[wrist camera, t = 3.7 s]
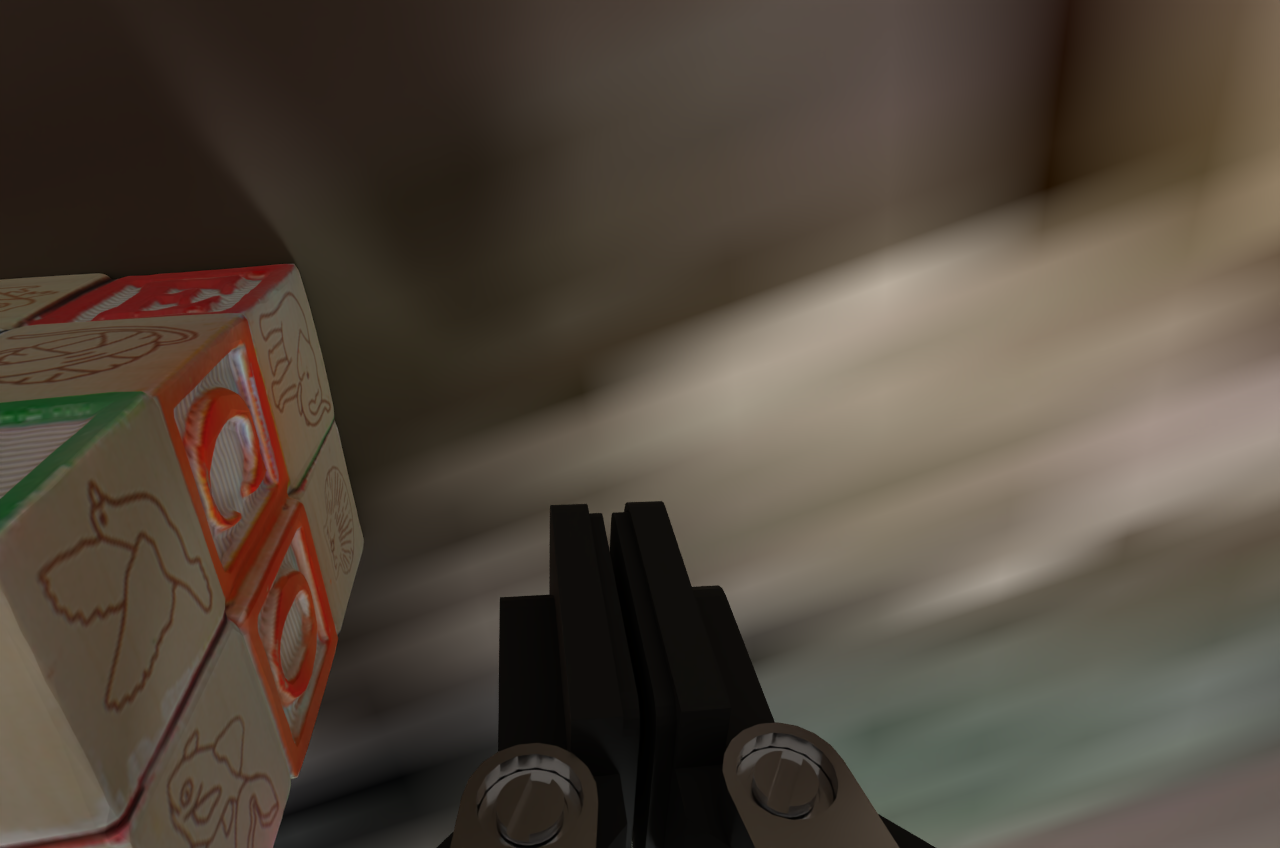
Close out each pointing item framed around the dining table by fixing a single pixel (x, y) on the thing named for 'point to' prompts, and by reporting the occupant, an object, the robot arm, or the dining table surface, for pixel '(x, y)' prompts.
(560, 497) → the dining table surface
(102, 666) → the stack of blocks
